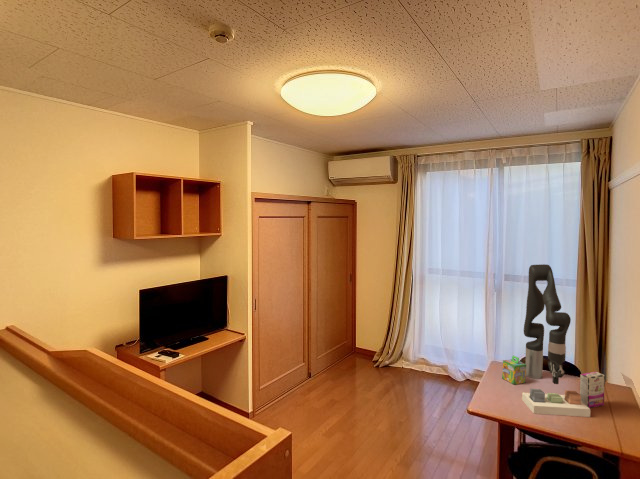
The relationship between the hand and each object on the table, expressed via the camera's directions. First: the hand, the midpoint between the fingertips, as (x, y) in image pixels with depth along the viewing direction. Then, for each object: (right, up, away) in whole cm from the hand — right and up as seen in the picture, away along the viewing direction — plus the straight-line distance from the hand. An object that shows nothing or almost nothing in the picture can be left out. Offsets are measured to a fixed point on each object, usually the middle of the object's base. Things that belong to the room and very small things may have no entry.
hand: (555, 383), depth 186 cm
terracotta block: (+8, -10, -1) cm, 13 cm away
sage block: (0, -12, +1) cm, 12 cm away
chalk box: (-4, -11, +32) cm, 35 cm away
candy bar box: (+21, -13, +4) cm, 25 cm away
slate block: (-9, -10, +2) cm, 14 cm away
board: (0, -13, +1) cm, 13 cm away
